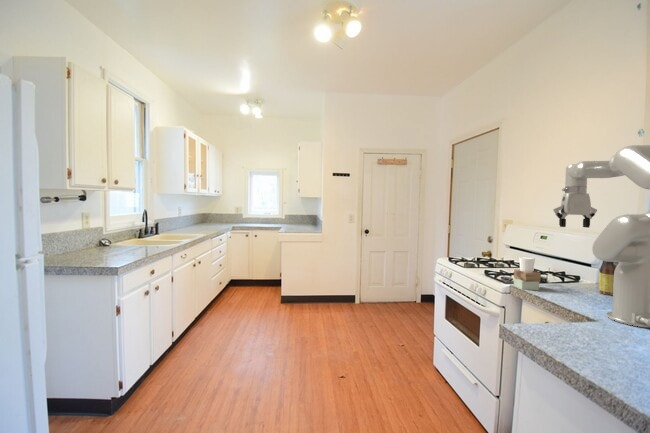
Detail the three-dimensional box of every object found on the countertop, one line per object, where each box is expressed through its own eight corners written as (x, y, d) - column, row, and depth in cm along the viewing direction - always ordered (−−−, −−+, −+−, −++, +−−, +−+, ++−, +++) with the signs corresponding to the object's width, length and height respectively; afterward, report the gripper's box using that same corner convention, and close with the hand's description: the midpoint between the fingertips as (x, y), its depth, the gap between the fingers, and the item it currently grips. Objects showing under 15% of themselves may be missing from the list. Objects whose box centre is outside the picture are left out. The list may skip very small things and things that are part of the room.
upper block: (540, 281, 142) (540, 272, 142) (525, 281, 142) (526, 273, 142) (528, 277, 150) (528, 269, 150) (514, 277, 150) (514, 269, 150)
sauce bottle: (608, 292, 139) (610, 253, 139) (620, 296, 133) (622, 255, 132) (594, 291, 140) (596, 252, 139) (606, 295, 134) (607, 255, 133)
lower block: (539, 290, 142) (539, 281, 142) (522, 289, 143) (522, 281, 143) (530, 286, 150) (530, 278, 150) (514, 285, 151) (514, 277, 151)
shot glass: (537, 272, 144) (538, 258, 144) (528, 272, 142) (528, 259, 142) (524, 269, 151) (525, 256, 150) (515, 270, 148) (515, 257, 148)
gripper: (560, 190, 127) (558, 227, 128) (603, 190, 124) (602, 228, 125) (549, 191, 135) (548, 226, 135) (590, 191, 132) (589, 227, 132)
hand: (574, 227), depth 130 cm, fingers open, 9 cm apart
